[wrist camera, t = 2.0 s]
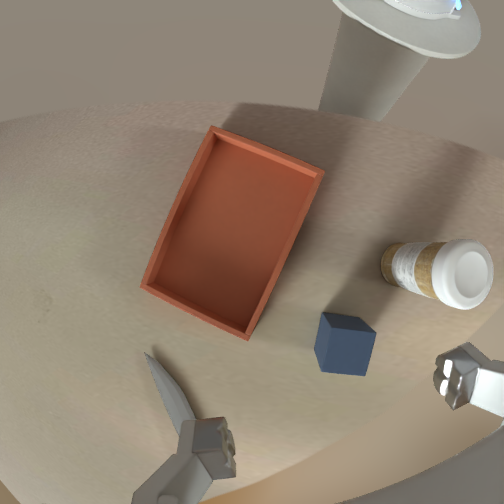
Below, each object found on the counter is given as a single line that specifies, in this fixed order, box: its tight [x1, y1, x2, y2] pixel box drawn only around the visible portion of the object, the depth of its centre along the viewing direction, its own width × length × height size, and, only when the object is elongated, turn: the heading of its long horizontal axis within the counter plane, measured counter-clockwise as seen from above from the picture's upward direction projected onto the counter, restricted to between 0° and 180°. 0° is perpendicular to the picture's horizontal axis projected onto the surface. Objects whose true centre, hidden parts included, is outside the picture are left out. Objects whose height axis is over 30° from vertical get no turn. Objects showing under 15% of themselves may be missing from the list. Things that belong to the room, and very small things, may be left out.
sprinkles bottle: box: [381, 239, 493, 309], centre depth 22 cm, size 5×5×14 cm
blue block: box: [314, 312, 376, 376], centre depth 27 cm, size 4×4×6 cm
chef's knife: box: [144, 352, 196, 435], centre depth 31 cm, size 19×1×3 cm
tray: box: [140, 126, 325, 341], centre depth 29 cm, size 17×12×3 cm
